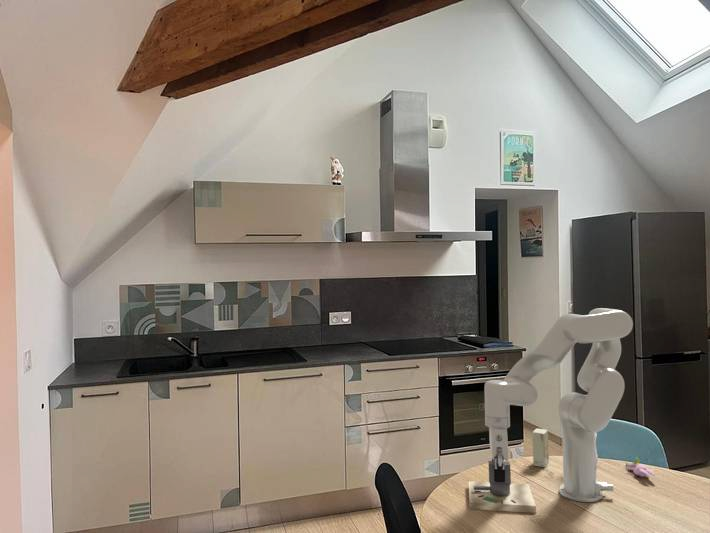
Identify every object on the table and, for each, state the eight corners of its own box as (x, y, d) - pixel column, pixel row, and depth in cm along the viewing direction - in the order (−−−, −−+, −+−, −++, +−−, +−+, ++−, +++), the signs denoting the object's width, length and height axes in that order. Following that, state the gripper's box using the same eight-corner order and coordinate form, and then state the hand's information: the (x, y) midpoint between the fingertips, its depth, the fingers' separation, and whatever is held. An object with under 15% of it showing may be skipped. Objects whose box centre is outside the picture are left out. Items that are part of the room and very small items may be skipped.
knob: (509, 488, 164) (508, 459, 164) (511, 496, 158) (510, 466, 158) (473, 486, 166) (472, 458, 166) (474, 494, 160) (473, 465, 160)
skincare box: (545, 468, 186) (544, 434, 186) (533, 466, 188) (531, 432, 188) (549, 462, 191) (548, 429, 191) (537, 460, 193) (535, 427, 194)
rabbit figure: (621, 471, 184) (642, 481, 169) (619, 454, 185) (640, 462, 170) (639, 471, 184) (662, 481, 169) (637, 454, 185) (659, 462, 170)
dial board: (528, 490, 167) (528, 483, 167) (536, 512, 152) (535, 505, 152) (468, 487, 171) (468, 480, 171) (469, 509, 155) (469, 501, 155)
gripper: (512, 429, 153) (513, 487, 152) (507, 413, 170) (508, 466, 169) (486, 428, 154) (487, 486, 154) (483, 413, 171) (484, 465, 171)
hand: (498, 475), depth 162 cm, fingers open, 9 cm apart
